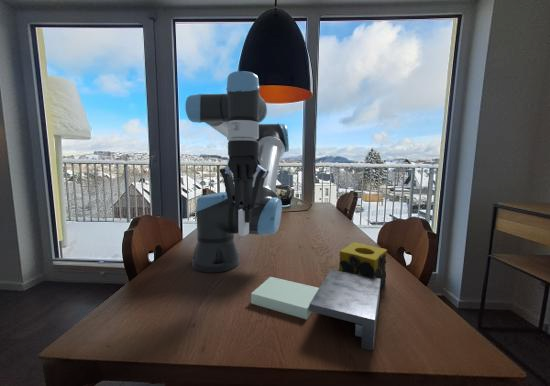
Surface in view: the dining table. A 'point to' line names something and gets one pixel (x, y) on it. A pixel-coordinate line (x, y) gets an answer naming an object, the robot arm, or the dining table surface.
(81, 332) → the dining table surface
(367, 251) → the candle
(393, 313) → the dining table surface
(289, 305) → the mint green panel
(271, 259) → the dining table surface
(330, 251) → the dining table surface
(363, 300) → the riser
